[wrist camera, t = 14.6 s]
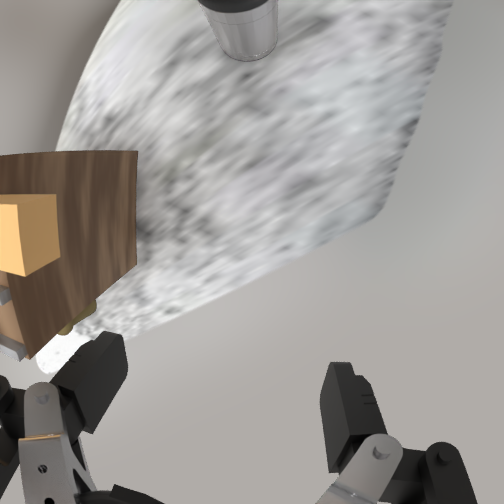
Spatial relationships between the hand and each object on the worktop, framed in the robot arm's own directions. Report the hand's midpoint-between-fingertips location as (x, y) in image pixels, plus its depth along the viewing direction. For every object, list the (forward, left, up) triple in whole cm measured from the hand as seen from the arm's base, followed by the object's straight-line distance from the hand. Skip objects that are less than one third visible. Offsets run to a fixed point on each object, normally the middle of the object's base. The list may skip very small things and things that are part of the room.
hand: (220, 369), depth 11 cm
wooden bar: (-11, -22, -8) cm, 26 cm away
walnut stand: (-8, -26, -38) cm, 47 cm away
